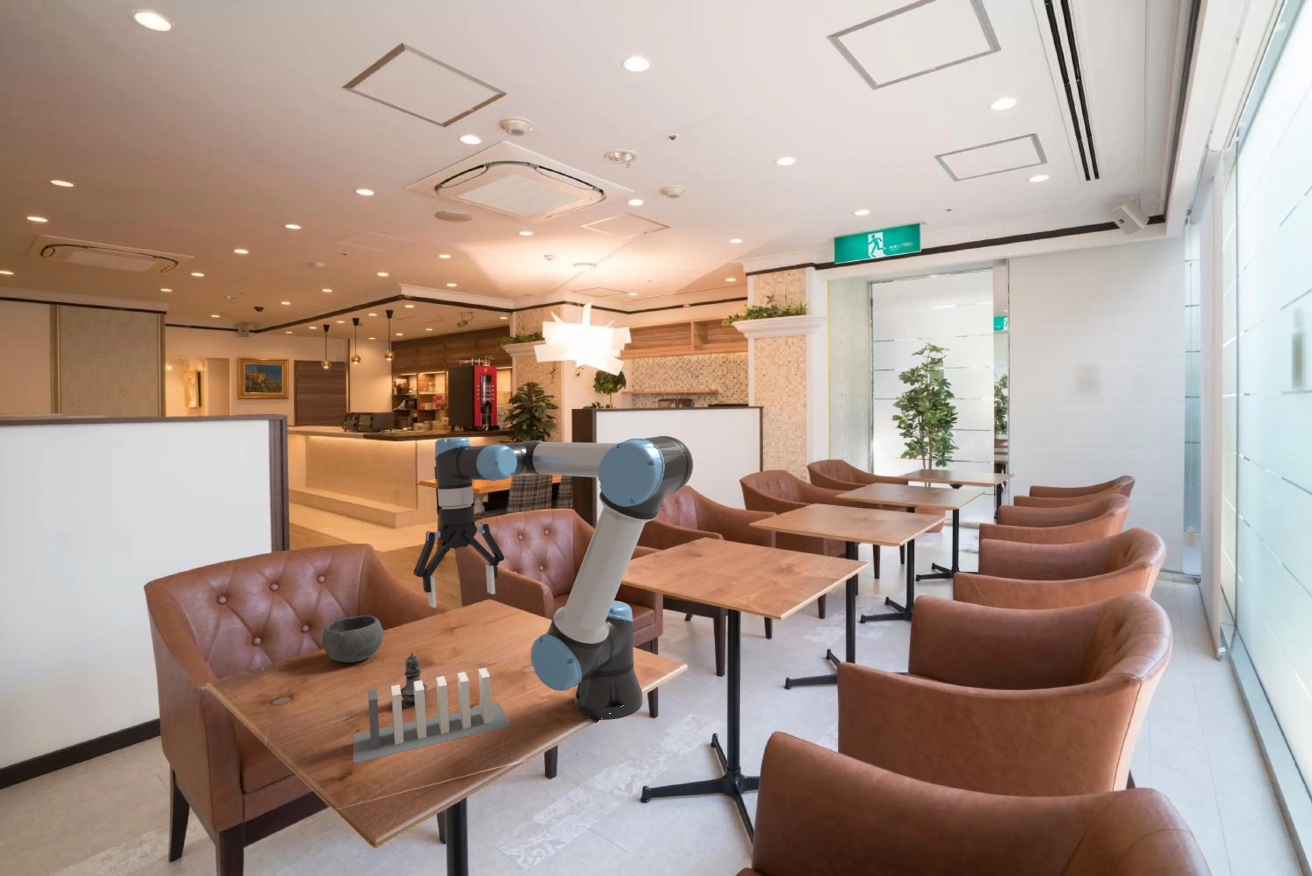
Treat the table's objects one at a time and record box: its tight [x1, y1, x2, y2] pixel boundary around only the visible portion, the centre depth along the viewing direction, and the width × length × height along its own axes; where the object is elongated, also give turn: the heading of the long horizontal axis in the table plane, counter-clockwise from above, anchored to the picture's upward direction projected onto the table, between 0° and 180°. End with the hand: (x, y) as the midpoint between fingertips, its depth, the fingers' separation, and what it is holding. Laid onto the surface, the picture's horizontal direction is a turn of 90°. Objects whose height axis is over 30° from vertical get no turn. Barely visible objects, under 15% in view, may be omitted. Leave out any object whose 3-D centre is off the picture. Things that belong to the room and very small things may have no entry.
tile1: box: [477, 667, 492, 724], centre depth 140 cm, size 2×5×10 cm, turn 25°
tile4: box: [414, 679, 427, 739], centre depth 134 cm, size 2×5×10 cm, turn 25°
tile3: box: [435, 675, 449, 734], centre depth 136 cm, size 2×5×10 cm, turn 25°
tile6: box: [367, 688, 380, 750], centre depth 131 cm, size 2×5×10 cm, turn 25°
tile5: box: [390, 684, 404, 744], centre depth 133 cm, size 2×5×10 cm, turn 25°
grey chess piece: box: [400, 652, 428, 708], centre depth 148 cm, size 6×6×12 cm
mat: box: [352, 702, 512, 764], centre depth 136 cm, size 30×12×1 cm, turn 115°
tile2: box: [457, 671, 471, 729], centre depth 138 cm, size 2×5×10 cm, turn 25°
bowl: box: [321, 615, 384, 664], centre depth 176 cm, size 15×15×10 cm
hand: (462, 599), depth 147 cm, fingers open, 13 cm apart
